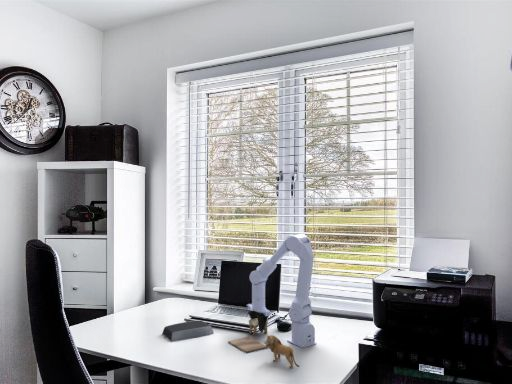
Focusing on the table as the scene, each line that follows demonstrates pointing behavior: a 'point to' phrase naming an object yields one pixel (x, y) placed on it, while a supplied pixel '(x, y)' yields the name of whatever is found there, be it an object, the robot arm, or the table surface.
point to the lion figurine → (280, 350)
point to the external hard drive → (187, 330)
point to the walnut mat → (247, 344)
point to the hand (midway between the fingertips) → (258, 328)
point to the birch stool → (254, 325)
